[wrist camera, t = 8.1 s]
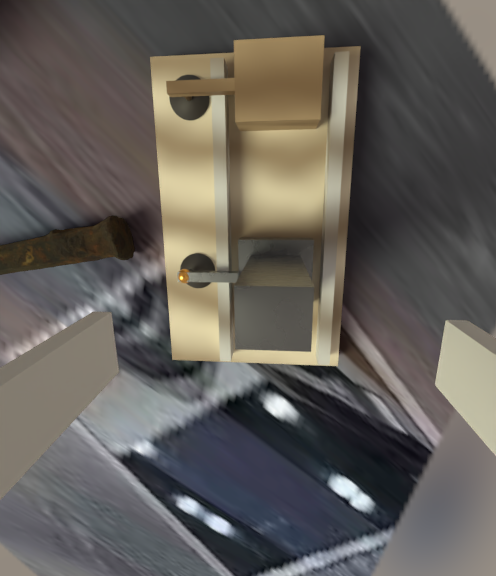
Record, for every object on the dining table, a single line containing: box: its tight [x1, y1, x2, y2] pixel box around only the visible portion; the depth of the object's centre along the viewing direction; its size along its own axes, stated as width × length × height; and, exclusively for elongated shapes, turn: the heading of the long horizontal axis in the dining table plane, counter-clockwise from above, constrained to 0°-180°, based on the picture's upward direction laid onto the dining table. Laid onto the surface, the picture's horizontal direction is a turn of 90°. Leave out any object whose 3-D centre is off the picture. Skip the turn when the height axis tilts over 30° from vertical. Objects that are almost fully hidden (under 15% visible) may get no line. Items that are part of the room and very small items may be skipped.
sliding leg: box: [177, 237, 314, 352], centre depth 22 cm, size 6×11×12 cm, turn 90°
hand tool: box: [0, 216, 135, 275], centre depth 30 cm, size 19×4×5 cm, turn 98°
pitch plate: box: [150, 35, 361, 366], centre depth 27 cm, size 26×16×5 cm, turn 0°
